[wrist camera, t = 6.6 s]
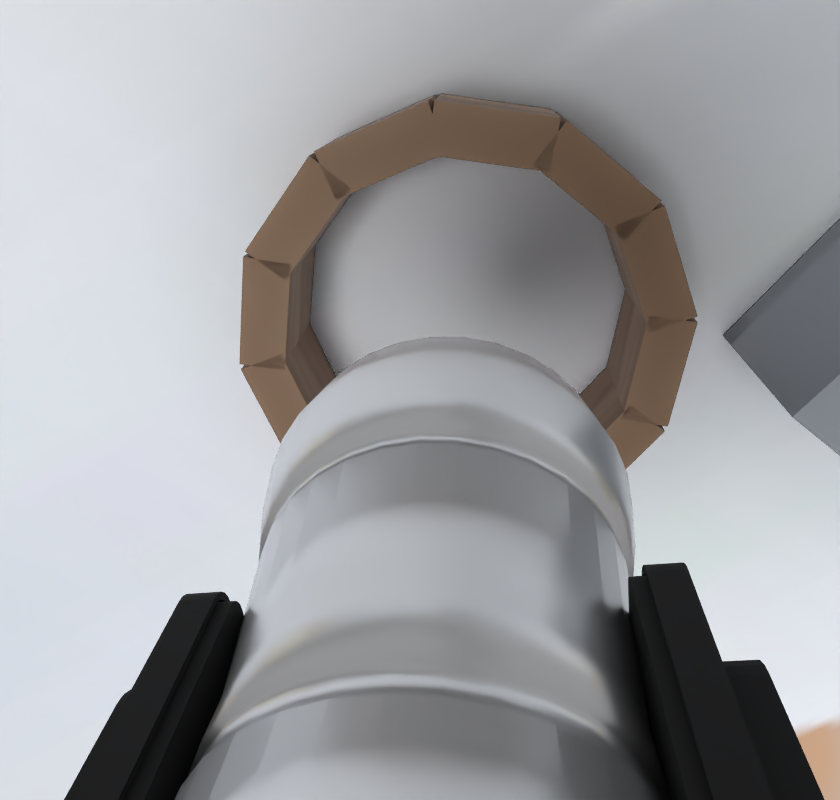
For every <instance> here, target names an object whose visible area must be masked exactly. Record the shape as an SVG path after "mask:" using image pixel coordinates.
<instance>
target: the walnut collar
mask: <svg viewBox="0 0 840 800" xmlns="http://www.w3.org/2000/svg"><path fill="white" fill-rule="evenodd" d="M314 152H315V153H313V154H311V155H310V156H309V157H308V158H307V160H306V161H305V163H304V164H303V166H302V167H301V169H300V170H299V172H298V173H297V175H296V176H295V178H294V179H293V181H292V182H291V184H290V185H289V187H288V188H287V190H286V191H285V193H284V194H283V196H282V197H281V199H280V200H279V201H278V203H277V204H276V206H275V207H274V209H273V210H272V212H271V213H270V215H269V216H268V218H267V219H266V221H265V222H264V224H263V225H262V227H261V228H260V230H259V231H258V233H257V234H256V236H255V237H254V239H253V240H252V242H251V243H250V245H249V246H248V248H247V249H246V251H245V252H247V253H248V254H246V255H245V256H244V257H243V279H242V309H241V338H240V364H243V365H244V366H243V368H242V369H241V370H242V372H243V374H244V376H245V378H246V380H247V382H248V384H249V385H250V387H251V389H252V391H253V393H254V395H255V397H256V398H257V400H258V402H259V404H260V406H261V408H262V410H263V412H264V413H265V415H266V417H267V419H268V421H269V423H270V425H271V426H272V428H273V430H274V432H275V434H276V436H277V438H278V440H279V441H280V443H281V441H282V439H283V437H284V436H285V434H286V433H287V431H288V430H289V428H290V427H291V425H292V424H293V422H294V421H295V419H296V418H297V416H298V415H299V413H300V412H301V411H302V410H303V409H304V408H305V407H306V406H307V405H308V404H309V403H310V402H311V401H312V400H313V399H314V398H315V397H316V396H317V395H318V394H319V393H320V392H321V391H322V390H323V389H324V388H325V387H326V386H327V385H328V384H329V383H330V382H331V381H332V380H333V379H334V378H335V375H334V373H333V371H332V368H331V366H330V364H329V362H328V360H327V358H326V356H325V354H324V352H323V350H322V348H321V346H320V344H319V342H318V340H317V338H316V336H315V334H314V332H313V330H312V328H311V326H310V312H311V298H312V284H313V270H314V256H315V245H316V243H317V242H318V240H319V239H320V238H321V236H322V235H323V233H324V232H325V231H326V229H327V228H328V226H329V225H330V224H331V222H332V221H333V219H334V218H335V217H336V215H337V214H338V212H339V211H340V209H341V208H342V207H343V205H344V204H345V202H346V201H347V200H348V198H349V197H350V195H351V194H352V193H353V192H355V191H358V190H360V189H363V188H365V187H367V186H370V185H372V184H374V183H377V182H379V181H381V180H384V179H386V178H388V177H391V176H393V175H395V174H398V173H400V172H402V171H405V170H407V169H409V168H412V167H414V166H416V165H419V164H421V163H423V162H426V161H428V160H430V159H433V158H435V157H437V156H439V157H446V158H453V159H460V160H467V161H474V162H481V163H489V164H496V165H503V166H510V167H517V168H524V169H531V170H538V171H541V172H542V173H544V174H545V175H546V176H547V177H548V178H550V179H551V180H552V181H553V182H555V183H556V184H557V185H558V186H559V187H561V188H562V189H563V190H564V191H565V192H567V193H568V194H569V195H570V196H571V197H573V198H574V199H575V200H576V201H577V202H579V203H580V204H581V205H582V206H584V207H585V208H586V209H587V210H588V211H590V212H591V213H592V214H593V215H594V216H596V217H597V218H598V219H599V220H600V221H602V222H603V223H604V226H605V229H606V232H607V235H608V238H609V241H610V244H611V247H612V250H613V253H614V256H615V259H616V262H617V265H618V268H619V272H620V275H621V278H622V281H623V284H624V287H625V293H624V297H623V301H622V305H621V309H620V313H619V318H618V322H617V326H616V330H615V334H614V338H613V342H612V346H611V351H610V355H609V359H608V363H607V367H606V368H605V369H604V370H603V371H602V372H601V373H600V374H599V375H598V376H597V377H596V379H595V380H594V381H593V382H592V383H591V384H590V385H589V386H588V387H587V388H586V389H585V390H584V391H583V392H582V393H581V394H580V397H581V398H582V399H583V401H584V402H585V403H586V405H587V406H588V407H589V409H590V410H591V411H592V413H593V414H594V415H595V417H596V418H597V419H598V421H599V422H600V424H601V425H602V426H603V428H604V429H605V431H606V432H607V433H608V435H609V436H610V438H611V439H612V440H613V442H614V443H615V445H616V447H617V450H618V452H619V455H620V457H621V459H622V462H623V464H624V467H625V469H626V468H627V467H628V466H629V465H631V464H632V463H633V462H634V461H635V460H636V459H637V458H638V457H639V456H640V455H641V454H642V453H643V452H644V451H645V450H646V449H647V448H648V447H649V446H650V445H651V444H652V443H653V442H654V441H655V440H656V439H657V438H658V437H659V436H660V435H661V434H662V433H663V432H664V429H663V427H662V426H668V423H669V420H670V416H671V413H672V409H673V406H674V402H675V399H676V395H677V392H678V388H679V385H680V381H681V378H682V374H683V371H684V367H685V364H686V360H687V357H688V353H689V350H690V346H691V343H692V339H693V336H694V332H695V329H696V325H697V321H696V320H695V319H694V317H697V313H696V310H695V306H694V303H693V300H692V296H691V293H690V290H689V286H688V283H687V279H686V276H685V273H684V269H683V266H682V262H681V259H680V256H679V252H678V249H677V246H676V242H675V239H674V235H673V232H672V229H671V225H670V222H669V218H668V215H667V212H666V208H665V206H664V205H663V204H662V203H661V202H660V201H661V200H660V199H659V198H658V197H657V196H655V195H654V194H653V193H652V192H651V191H649V190H648V189H647V188H646V187H645V186H644V185H642V184H641V183H640V182H639V181H638V180H637V179H635V178H634V177H633V176H632V175H631V174H630V173H628V172H627V171H626V170H625V169H624V168H622V167H621V166H620V165H619V164H618V163H617V162H615V161H614V160H613V159H612V158H611V157H610V156H608V155H607V154H606V153H605V152H604V151H602V150H601V149H600V148H599V147H598V146H597V145H595V144H594V143H593V142H592V141H591V140H590V139H588V138H587V137H586V136H585V135H584V134H582V133H581V132H580V131H579V130H578V129H577V128H575V127H574V126H573V125H572V124H571V123H570V122H568V121H567V120H566V119H565V118H563V117H562V116H561V115H560V114H558V113H557V112H556V111H555V112H553V111H552V110H551V109H548V108H541V107H533V106H526V105H519V104H512V103H505V102H498V101H490V100H483V99H476V98H469V97H462V96H455V95H447V94H440V95H439V96H438V97H436V95H433V96H431V97H429V98H426V99H424V100H422V101H420V102H418V103H415V104H413V105H411V106H409V107H406V108H404V109H402V110H400V111H397V112H395V113H393V114H391V115H388V116H386V117H384V118H382V119H379V120H377V121H375V122H373V123H370V124H368V125H366V126H364V127H361V128H359V129H357V130H355V131H353V132H350V133H348V134H346V135H344V136H341V137H339V138H337V139H335V140H333V141H332V142H330V143H328V144H326V145H325V146H323V147H321V148H319V149H318V150H316V151H314Z"/></svg>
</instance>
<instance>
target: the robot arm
mask: <svg viewBox="0 0 840 800" xmlns="http://www.w3.org/2000/svg"><path fill="white" fill-rule="evenodd" d="M628 600H629V616H630V621H631V626H632V631H633V636H634V642H635V647H636V652H637V657H638V662H639V667H640V672H641V677H642V682H643V688H644V694H645V701H646V707H647V714H648V721H649V727H650V732H651V735H652V738H653V741H654V745H655V748H656V751H657V754H658V758H659V761H660V764H661V767H662V770H663V774H664V777H665V780H666V784H667V787H668V791H669V795H670V800H824V798H823V795H822V793H821V791H820V788H819V786H818V784H817V782H816V779H815V777H814V775H813V772H812V770H811V768H810V766H809V763H808V761H807V759H806V757H805V754H804V752H803V750H802V748H801V745H800V743H799V741H798V738H797V736H796V734H795V731H794V729H793V727H792V725H791V722H790V720H789V718H788V715H787V713H786V711H785V709H784V706H783V704H782V702H781V700H780V697H779V695H778V693H777V690H776V688H775V686H774V684H773V681H772V679H771V677H770V674H769V673H768V671H767V669H766V667H765V665H764V664H763V663H762V662H761V661H760V660H745V661H724V662H722V659H721V657H720V654H719V651H718V649H717V646H716V643H715V641H714V638H713V635H712V633H711V630H710V627H709V624H708V622H707V619H706V616H705V614H704V611H703V608H702V606H701V603H700V600H699V598H698V595H697V592H696V590H695V587H694V584H693V582H692V579H691V576H690V573H689V571H688V568H687V566H686V564H685V563H669V564H653V565H643V567H642V576H634V577H628ZM243 618H244V615H243V611H242V608H241V606H240V604H239V603H238V602H237V601H230V600H229V598H228V596H227V595H226V594H225V593H224V592H211V593H196V594H186V595H184V596H183V597H182V598H181V599H180V601H179V603H178V604H177V606H176V608H175V610H174V612H173V614H172V616H171V617H170V619H169V621H168V623H167V625H166V627H165V628H164V630H163V632H162V634H161V636H160V638H159V640H158V641H157V643H156V645H155V647H154V649H153V651H152V653H151V654H150V656H149V658H148V660H147V662H146V664H145V665H144V667H143V669H142V671H141V673H140V675H139V677H138V678H137V680H136V682H135V684H134V686H133V688H132V689H131V690H130V691H128V692H127V693H125V694H124V695H123V696H122V698H121V699H120V700H119V702H118V703H117V705H116V707H115V708H114V710H113V712H112V714H111V716H110V718H109V719H108V721H107V723H106V725H105V727H104V728H103V730H102V732H101V734H100V736H99V737H98V739H97V741H96V743H95V745H94V747H93V748H92V750H91V752H90V754H89V756H88V757H87V759H86V761H85V763H84V765H83V766H82V768H81V770H80V772H79V774H78V776H77V777H76V779H75V781H74V783H73V785H72V786H71V788H70V790H69V792H68V794H67V796H66V797H65V799H64V800H175V798H176V795H177V793H178V791H179V789H180V787H181V785H182V784H183V783H184V781H185V780H186V779H187V777H188V776H189V772H190V769H191V766H192V764H193V761H194V758H195V756H196V753H197V751H198V748H199V745H200V743H201V741H202V739H203V736H204V734H205V732H206V730H207V728H208V726H209V723H210V721H211V719H212V717H213V715H214V713H215V710H216V708H217V706H218V704H219V702H220V700H221V697H222V694H223V690H224V687H225V683H226V680H227V676H228V673H229V669H230V665H231V662H232V658H233V654H234V651H235V647H236V644H237V640H238V636H239V633H240V629H241V626H242V622H243Z"/></svg>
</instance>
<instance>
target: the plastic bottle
mask: <svg viewBox="0 0 840 800" xmlns="http://www.w3.org/2000/svg"><path fill="white" fill-rule="evenodd" d="M634 558H635V537H634V525H633V512H632V501H631V495H630V488H629V482H628V475H627V472H626V469H625V467H624V464H623V462H622V459H621V457H620V455H619V452H618V450H617V447H616V445H615V443H614V442H613V440H612V439H611V438H610V436H609V435H608V433H607V432H606V431H605V429H604V428H603V426H602V425H601V424H600V422H599V421H598V419H597V418H596V417H595V415H594V414H593V413H592V411H591V410H590V409H589V407H588V406H587V405H586V403H585V402H584V401H583V399H582V398H581V397H580V395H579V394H578V393H577V392H576V391H575V390H574V389H573V388H572V387H571V386H570V385H569V384H568V383H567V382H566V381H564V380H563V379H562V378H561V377H560V376H559V375H558V374H557V373H556V372H555V371H553V370H551V369H550V368H548V367H546V366H545V365H543V364H542V363H540V362H538V361H537V360H535V359H533V358H532V357H530V356H528V355H526V354H524V353H521V352H518V351H516V350H513V349H510V348H508V347H505V346H502V345H500V344H497V343H492V342H487V341H481V340H476V339H470V338H465V337H429V338H423V339H417V340H412V341H406V342H400V343H397V344H394V345H391V346H389V347H386V348H383V349H381V350H378V351H375V352H373V353H370V354H368V355H366V356H365V357H363V358H362V359H360V360H358V361H357V362H355V363H354V364H352V365H350V366H349V367H347V368H346V369H344V370H343V371H342V372H341V373H340V374H339V375H337V376H336V377H335V378H334V379H333V380H332V381H331V382H330V383H329V384H328V385H327V386H326V387H325V388H324V389H323V390H322V391H321V392H320V393H319V394H318V395H317V396H316V397H315V398H314V399H313V400H312V401H311V402H310V403H309V404H308V405H307V406H306V407H305V408H304V409H303V410H302V411H301V412H300V413H299V415H298V416H297V418H296V419H295V421H294V422H293V424H292V425H291V427H290V428H289V430H288V431H287V433H286V434H285V436H284V437H283V439H282V441H281V444H280V447H279V450H278V453H277V455H276V458H275V461H274V464H273V467H272V471H271V475H270V480H269V485H268V489H267V494H266V498H265V503H264V508H263V517H262V527H261V537H260V552H259V564H258V568H257V571H256V575H255V578H254V582H253V586H252V589H251V593H250V597H249V600H248V604H247V607H246V611H245V615H244V618H243V622H242V626H241V629H240V633H239V636H238V640H237V644H236V647H235V651H234V654H233V658H232V662H231V665H230V669H229V673H228V676H227V680H226V683H225V687H224V690H223V694H222V697H221V700H220V702H219V704H218V706H217V708H216V710H215V713H214V715H213V717H212V719H211V721H210V723H209V726H208V728H207V730H206V732H205V734H204V736H203V739H202V741H201V743H200V745H199V748H198V751H197V753H196V756H195V758H194V761H193V764H192V766H191V769H190V772H189V776H188V777H187V779H186V780H185V781H184V783H183V784H182V785H181V787H180V789H179V791H178V793H177V795H176V798H175V800H670V795H669V791H668V787H667V784H666V780H665V777H664V774H663V770H662V767H661V764H660V761H659V758H658V754H657V751H656V748H655V745H654V741H653V738H652V735H651V732H650V727H649V721H648V714H647V707H646V701H645V694H644V688H643V682H642V677H641V672H640V667H639V662H638V657H637V652H636V647H635V642H634V636H633V631H632V626H631V621H630V616H629V600H628V577H633V572H634Z"/></svg>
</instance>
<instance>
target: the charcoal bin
mask: <svg viewBox="0 0 840 800" xmlns="http://www.w3.org/2000/svg"><path fill="white" fill-rule="evenodd" d="M723 336H724V337H725V339H726V340H727V341H728V342H729V343H730V344H731V346H732V347H733V348H734V349H735V350H736V351H737V353H738V354H739V355H740V356H741V357H742V358H743V360H744V361H745V362H746V363H747V364H748V365H749V367H750V368H751V369H752V370H753V371H754V373H755V374H756V375H757V376H758V377H759V378H760V380H761V381H762V382H763V383H764V384H765V385H766V387H767V388H768V389H769V390H770V391H771V392H772V394H773V395H774V396H775V397H776V398H777V399H778V401H779V402H780V403H781V404H782V405H783V407H784V408H785V409H786V410H787V411H788V412H789V414H790V415H791V416H792V417H793V418H794V419H795V420H797V421H798V422H799V423H800V424H802V425H803V426H804V427H805V428H807V429H808V430H809V431H810V432H811V433H813V434H814V435H815V436H816V437H818V438H819V439H820V440H821V441H823V442H824V443H825V444H826V445H827V446H829V447H830V448H831V449H832V450H834V451H835V452H836V453H837V454H838V455H840V219H839V220H838V221H837V222H836V223H835V224H834V225H833V226H832V227H831V228H830V229H829V230H828V231H827V232H826V233H825V234H824V235H823V236H822V237H821V238H820V239H819V240H818V241H817V242H816V243H815V244H814V245H813V246H812V247H811V248H810V249H809V250H808V251H807V252H806V253H805V254H804V255H803V256H802V257H801V258H800V259H799V260H798V261H797V262H796V263H795V264H794V265H793V266H792V267H791V268H790V269H789V270H788V271H787V272H786V273H785V274H784V275H783V276H782V277H781V278H780V279H779V280H778V281H777V282H776V283H775V284H774V285H773V286H772V287H771V288H770V289H769V290H768V291H767V292H766V293H765V294H764V295H763V296H762V297H761V298H760V299H759V300H758V301H757V302H756V303H755V304H754V305H753V306H752V307H751V308H750V309H749V310H748V311H747V312H746V313H745V314H744V315H743V316H742V317H741V318H740V319H739V320H738V321H737V322H736V323H735V324H734V325H733V326H732V327H731V328H730V329H729V330H728V331H727V332H726V333H725V334H724V335H723Z"/></svg>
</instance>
